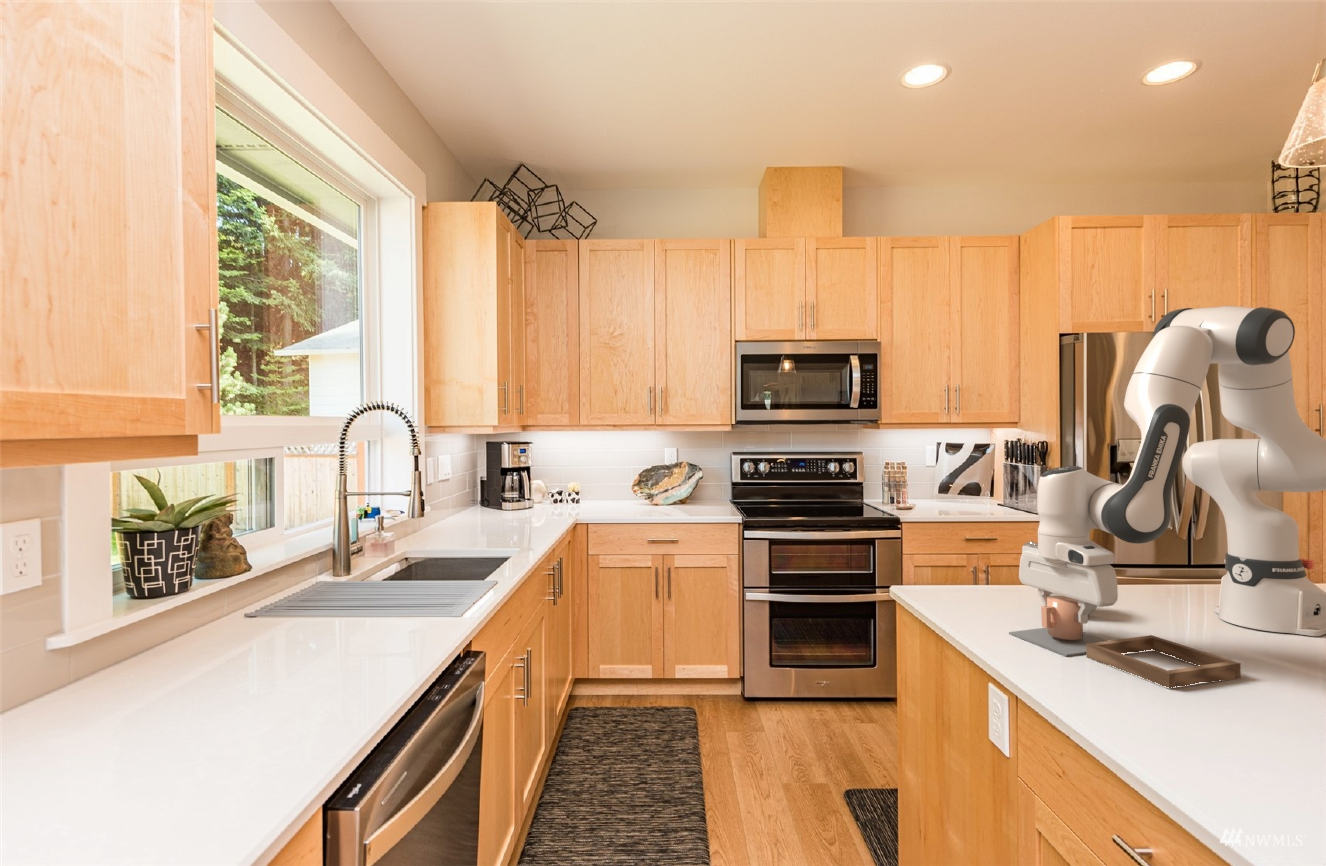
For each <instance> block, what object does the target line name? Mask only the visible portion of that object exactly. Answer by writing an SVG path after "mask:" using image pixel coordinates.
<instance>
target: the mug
mask: <svg viewBox="0 0 1326 866" xmlns="http://www.w3.org/2000/svg"><path fill="white" fill-rule="evenodd" d="M1080 608H1081V606H1079V605H1078V600H1075V599H1072V598H1068V597H1065V596H1050V597H1047V606H1041V628H1048V634H1049V635H1051V636H1053V637H1056V638H1061V639H1068V640H1078V639H1082V638H1083V632H1084V624H1081V623H1078V622H1076V621H1075V620H1074V618H1075V617H1074V613H1078V612H1079V610H1080Z"/></svg>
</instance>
